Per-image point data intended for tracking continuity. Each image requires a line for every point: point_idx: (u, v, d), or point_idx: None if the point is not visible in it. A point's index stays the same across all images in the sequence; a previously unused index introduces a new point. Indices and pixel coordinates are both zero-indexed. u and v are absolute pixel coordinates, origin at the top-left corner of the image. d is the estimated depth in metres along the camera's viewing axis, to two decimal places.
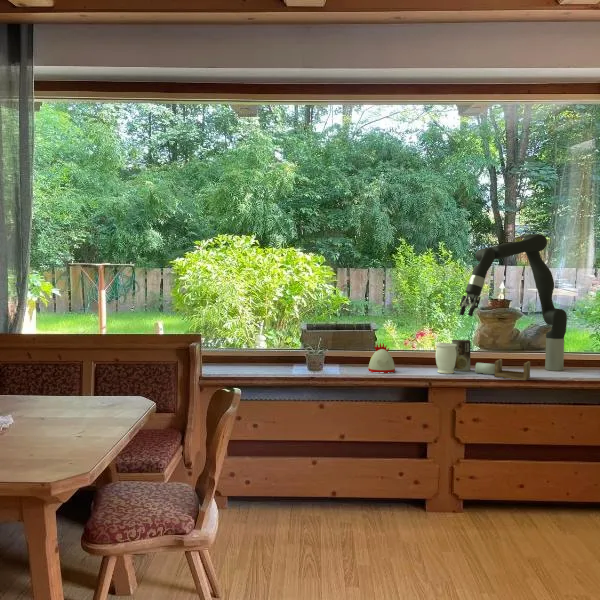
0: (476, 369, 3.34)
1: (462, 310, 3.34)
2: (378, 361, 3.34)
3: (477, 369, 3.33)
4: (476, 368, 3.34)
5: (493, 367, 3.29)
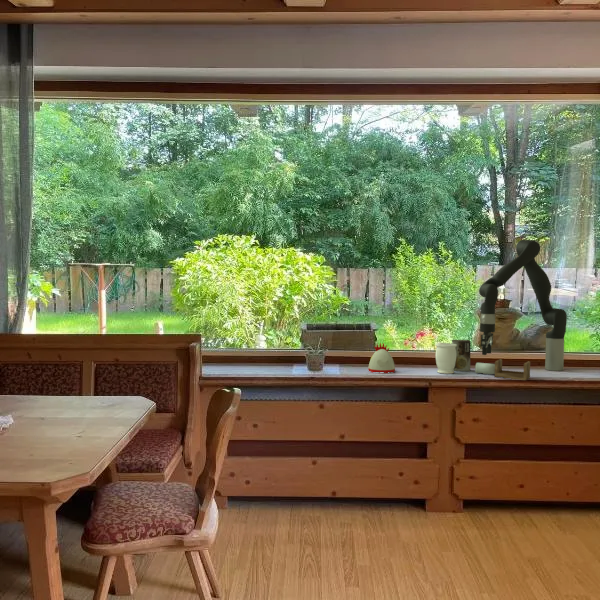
0: (476, 369, 3.34)
1: (488, 348, 3.37)
2: (378, 361, 3.34)
3: (477, 369, 3.33)
4: (476, 368, 3.34)
5: (493, 367, 3.29)
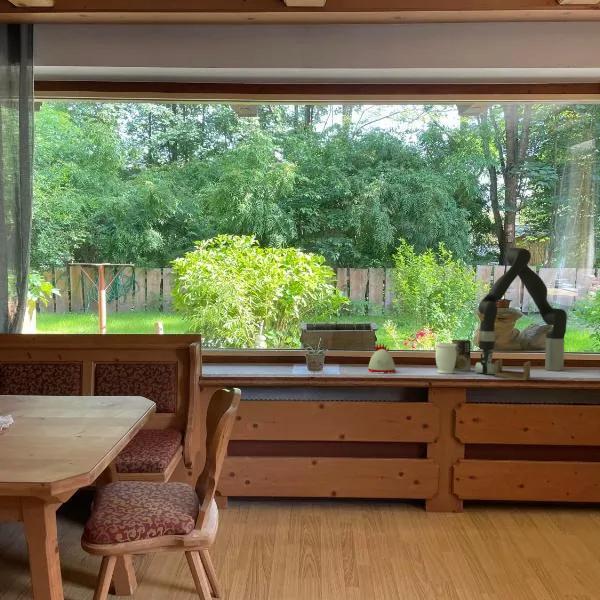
0: (476, 369, 3.34)
1: None
2: (378, 361, 3.34)
3: (477, 369, 3.33)
4: (476, 368, 3.34)
5: (493, 367, 3.29)
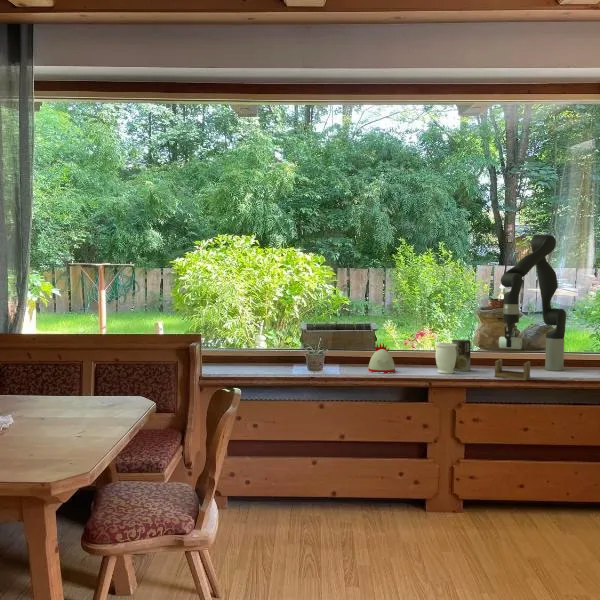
0: (500, 343, 3.24)
1: None
2: (378, 361, 3.34)
3: (501, 343, 3.23)
4: (500, 342, 3.24)
5: (517, 341, 3.19)
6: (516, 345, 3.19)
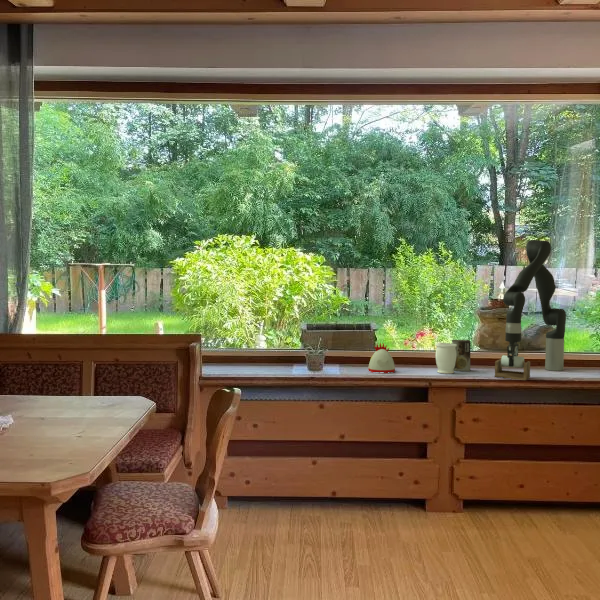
0: (502, 362, 3.23)
1: None
2: (378, 361, 3.34)
3: (503, 362, 3.22)
4: (502, 361, 3.23)
5: (520, 360, 3.18)
6: (519, 364, 3.19)
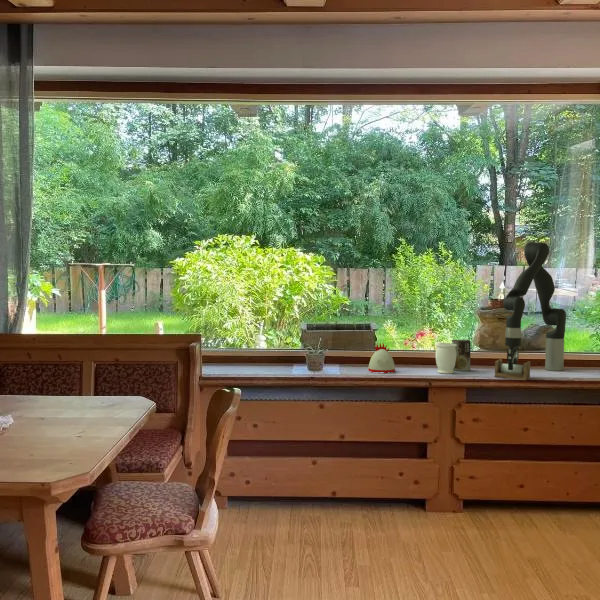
0: (502, 370, 3.23)
1: (513, 363, 3.26)
2: (378, 361, 3.34)
3: (503, 370, 3.23)
4: (502, 369, 3.23)
5: (520, 368, 3.19)
6: (518, 372, 3.19)
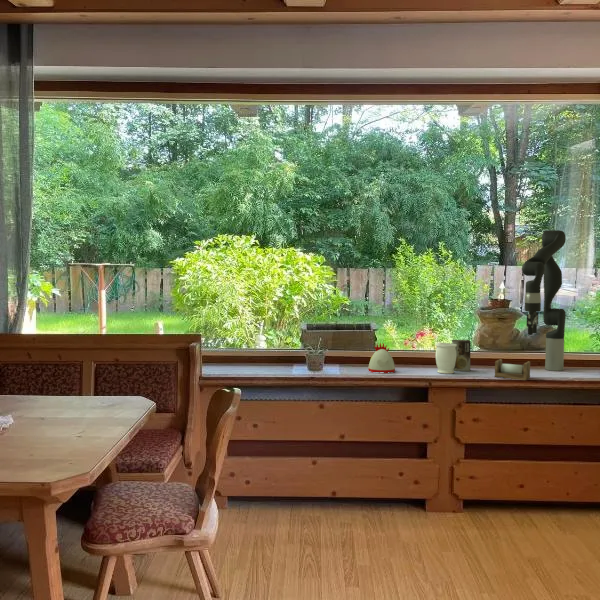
0: (502, 370, 3.23)
1: (533, 328, 3.27)
2: (378, 361, 3.34)
3: (503, 370, 3.23)
4: (502, 369, 3.23)
5: (520, 368, 3.19)
6: (518, 373, 3.19)
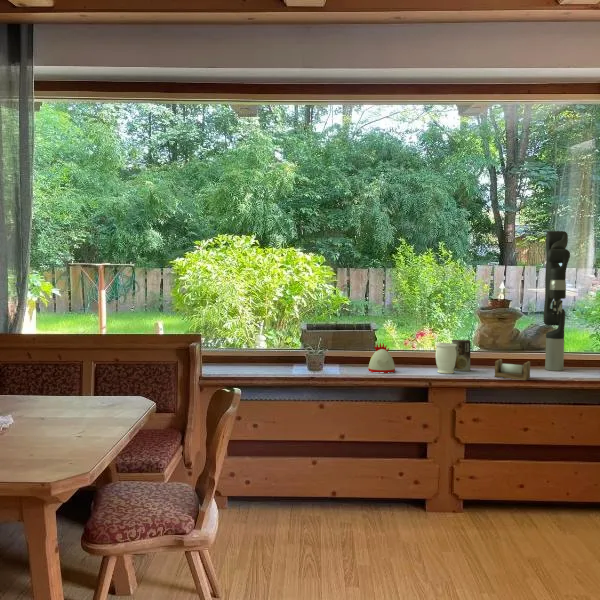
0: (502, 370, 3.23)
1: (557, 316, 3.28)
2: (378, 361, 3.34)
3: (503, 370, 3.23)
4: (502, 369, 3.23)
5: (520, 368, 3.19)
6: (518, 372, 3.19)
